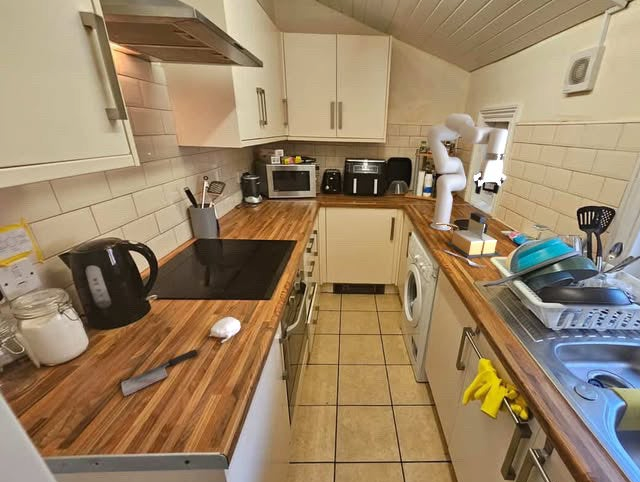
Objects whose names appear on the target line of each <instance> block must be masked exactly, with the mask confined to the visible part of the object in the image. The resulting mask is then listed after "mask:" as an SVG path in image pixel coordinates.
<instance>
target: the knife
mask: <svg viewBox="0 0 640 482" xmlns="http://www.w3.org/2000/svg"><path fill="white" fill-rule="evenodd" d="M486 220H487V216H485V215H483V214H480V213H479V212H470V217H469V220H468V227H467V230H468V231H470V232H471V233H473V234H475V235H477V236H478V237H480V238H482V237H483V233H485V227H486V224H485V223H486Z"/></svg>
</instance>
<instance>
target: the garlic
mask: <svg viewBox="0 0 640 482" xmlns="http://www.w3.org/2000/svg"><path fill="white" fill-rule="evenodd" d="M240 330H241V321H239V320H238V319H237V318H235V317H232V316H226V317H223V318H221V319H219V320H218V321H217V322H215V323H214V324H213V325H212V327H210V334H208V337H210V338H211V337H215V338H223V339H221V341H220V343H221V344H222V343H224V342H226V341H228V340H229V339H230V338H231V337H232V336H235V335H236V334H238V332H239V331H240Z"/></svg>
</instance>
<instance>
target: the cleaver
mask: <svg viewBox="0 0 640 482" xmlns="http://www.w3.org/2000/svg"><path fill="white" fill-rule="evenodd" d="M197 354H198V351H197V349H196V348H195V349H191V350H190V351H187V352H185V353H183V354H181V355H178V356H176V357H172V358H171V359H169V360H167V362H165V363H163V364H161V365H159V366H155V367H154V368H151V369H149V370H147V371H144V372H143V373H141V374H138V375H136V376H133V377H132V378H129V379H127V380H124V381H122V382H121V385H120V386H121V391H122V394H123V396H124V397H127V396H129V395H131V394H133V393H136V392H138V391H139V390H142V389H144V388H146V387H148V386H150V385H152V384H154V383H157V382H158V381H161V380H163V379H165V378H168V376H169V375H168V373H167V371H166V367H168V366H170V367H171V366H174V365H176V364H179V363H181V362H183V361H184V360H187V359H189V358H191V357H193V356H195V355H197Z"/></svg>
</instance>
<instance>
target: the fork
mask: <svg viewBox="0 0 640 482" xmlns="http://www.w3.org/2000/svg"><path fill="white" fill-rule="evenodd" d="M443 252H445V253H447V254H449V255H453V256H455V257H458V258H461V259H464V260H466V261H467V262H468V264H469V265H470V266H472V267H477V268H478V267H479V268H482V267H483V268H484V267H487V265H486V264H485V265H484V264H479V263H476V262H473V261H471V260H470V259H469V258H466V257H465V256H462V255H458V254H456V253H454V252H452V251H449V250H447V249H443Z"/></svg>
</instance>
